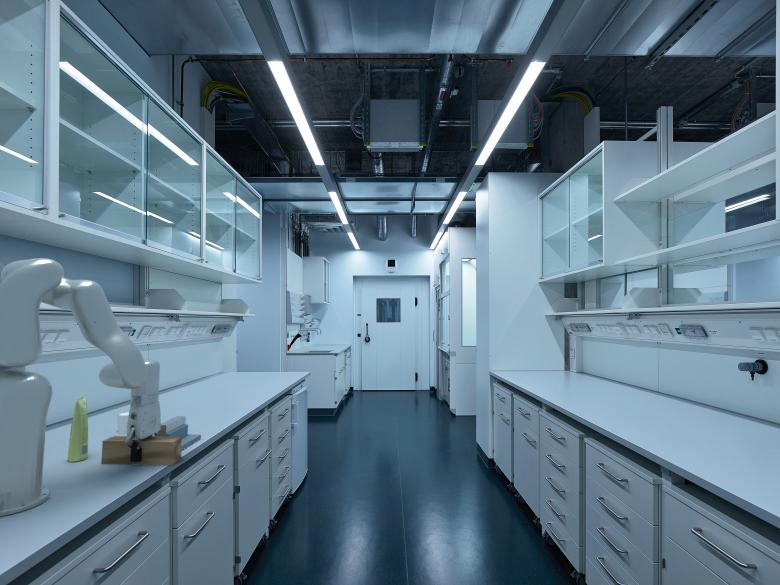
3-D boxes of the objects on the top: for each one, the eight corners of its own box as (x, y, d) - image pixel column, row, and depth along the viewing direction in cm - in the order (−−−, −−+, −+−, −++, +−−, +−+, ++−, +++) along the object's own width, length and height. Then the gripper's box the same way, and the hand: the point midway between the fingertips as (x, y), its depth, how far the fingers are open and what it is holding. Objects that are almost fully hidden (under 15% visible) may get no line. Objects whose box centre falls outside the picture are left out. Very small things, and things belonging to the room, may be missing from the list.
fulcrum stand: (179, 451, 129) (180, 426, 129) (138, 451, 129) (139, 425, 130) (200, 438, 143) (201, 415, 143) (163, 438, 143) (164, 414, 144)
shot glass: (111, 433, 148) (112, 415, 148) (127, 428, 154) (128, 410, 155) (126, 434, 146) (127, 416, 147) (141, 429, 153) (142, 412, 153)
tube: (62, 460, 120) (66, 397, 121) (81, 455, 125) (85, 394, 126) (73, 463, 118) (77, 399, 119) (91, 458, 122) (95, 396, 124)
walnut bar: (171, 465, 117) (172, 442, 118) (101, 463, 118) (102, 440, 118) (180, 459, 122) (181, 436, 123) (113, 457, 123) (114, 435, 123)
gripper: (138, 406, 113) (135, 469, 112) (172, 394, 130) (169, 448, 129) (113, 405, 113) (110, 468, 112) (150, 393, 130) (147, 448, 129)
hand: (142, 457), depth 120 cm, fingers closed on walnut bar, 5 cm apart
